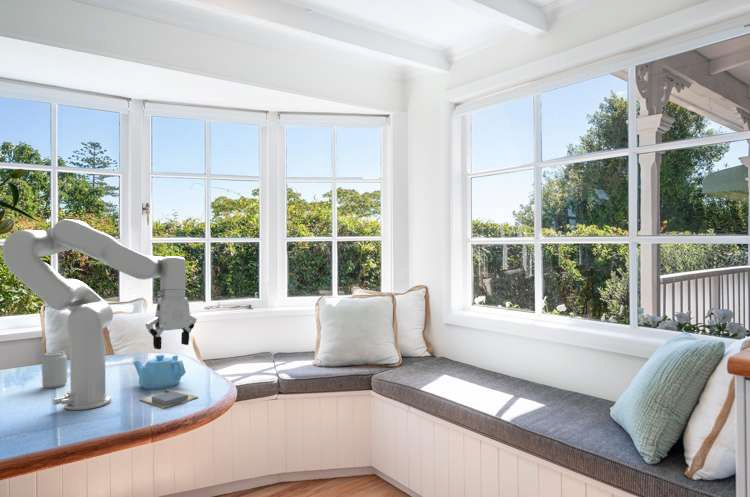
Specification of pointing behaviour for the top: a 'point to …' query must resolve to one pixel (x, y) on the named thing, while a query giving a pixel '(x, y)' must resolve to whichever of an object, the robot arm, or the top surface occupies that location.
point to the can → (54, 369)
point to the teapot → (160, 372)
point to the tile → (168, 398)
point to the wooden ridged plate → (149, 399)
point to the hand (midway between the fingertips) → (171, 346)
